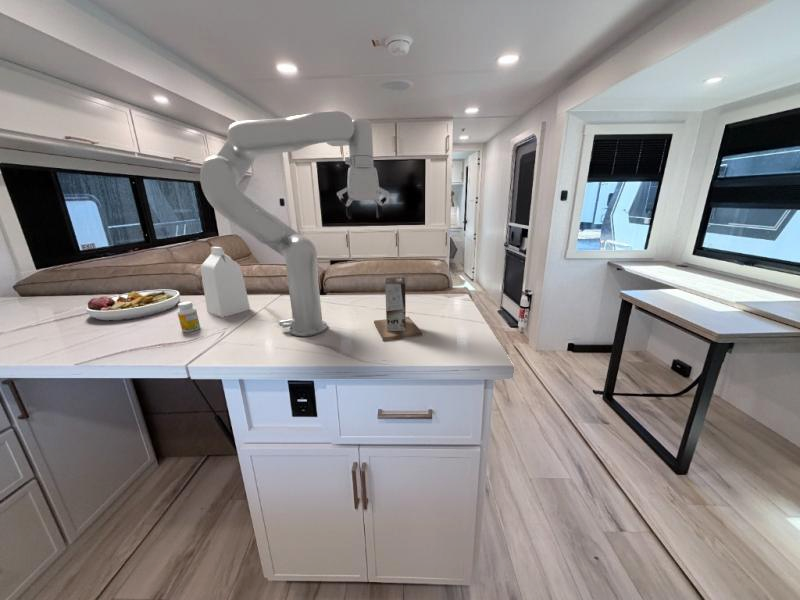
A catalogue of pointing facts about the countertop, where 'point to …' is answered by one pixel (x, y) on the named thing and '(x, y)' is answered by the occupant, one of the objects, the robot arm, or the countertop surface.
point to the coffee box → (395, 304)
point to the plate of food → (132, 304)
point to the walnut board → (410, 331)
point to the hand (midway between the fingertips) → (364, 218)
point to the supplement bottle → (188, 317)
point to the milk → (223, 284)
